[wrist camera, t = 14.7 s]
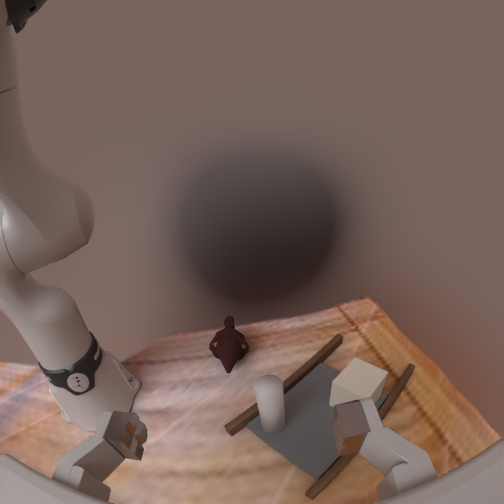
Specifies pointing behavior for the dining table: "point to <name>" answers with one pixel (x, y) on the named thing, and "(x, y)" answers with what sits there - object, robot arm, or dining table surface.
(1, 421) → the dining table surface
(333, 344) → the rails
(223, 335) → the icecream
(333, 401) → the block
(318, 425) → the board
